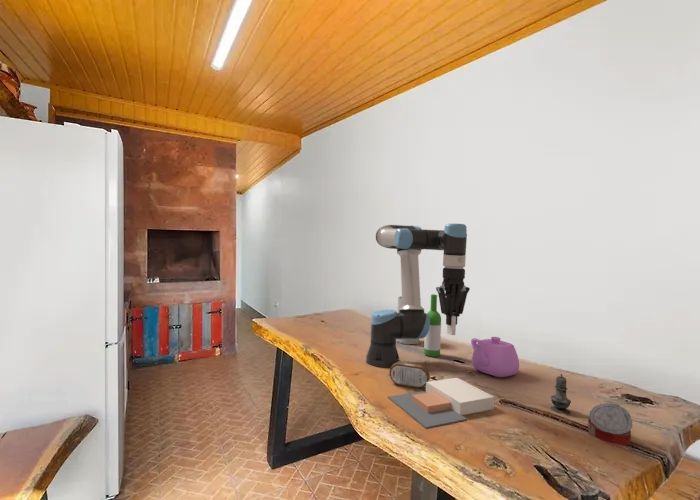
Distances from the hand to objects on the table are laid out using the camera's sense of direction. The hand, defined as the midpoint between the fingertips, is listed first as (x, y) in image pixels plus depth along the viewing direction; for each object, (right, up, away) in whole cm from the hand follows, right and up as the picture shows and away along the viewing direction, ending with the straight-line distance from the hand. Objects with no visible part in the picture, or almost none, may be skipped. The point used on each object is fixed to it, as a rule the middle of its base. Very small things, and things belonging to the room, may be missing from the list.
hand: (451, 334), depth 122 cm
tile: (-9, -21, -8) cm, 25 cm away
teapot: (+27, -23, +27) cm, 45 cm away
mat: (-11, -22, -10) cm, 26 cm away
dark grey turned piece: (+34, -24, -8) cm, 42 cm away
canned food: (+38, -24, -23) cm, 51 cm away
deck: (+2, -22, -3) cm, 23 cm away
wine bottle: (+5, -23, +49) cm, 55 cm away
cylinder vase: (-3, -23, +73) cm, 77 cm away
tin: (-13, -22, +9) cm, 27 cm away
